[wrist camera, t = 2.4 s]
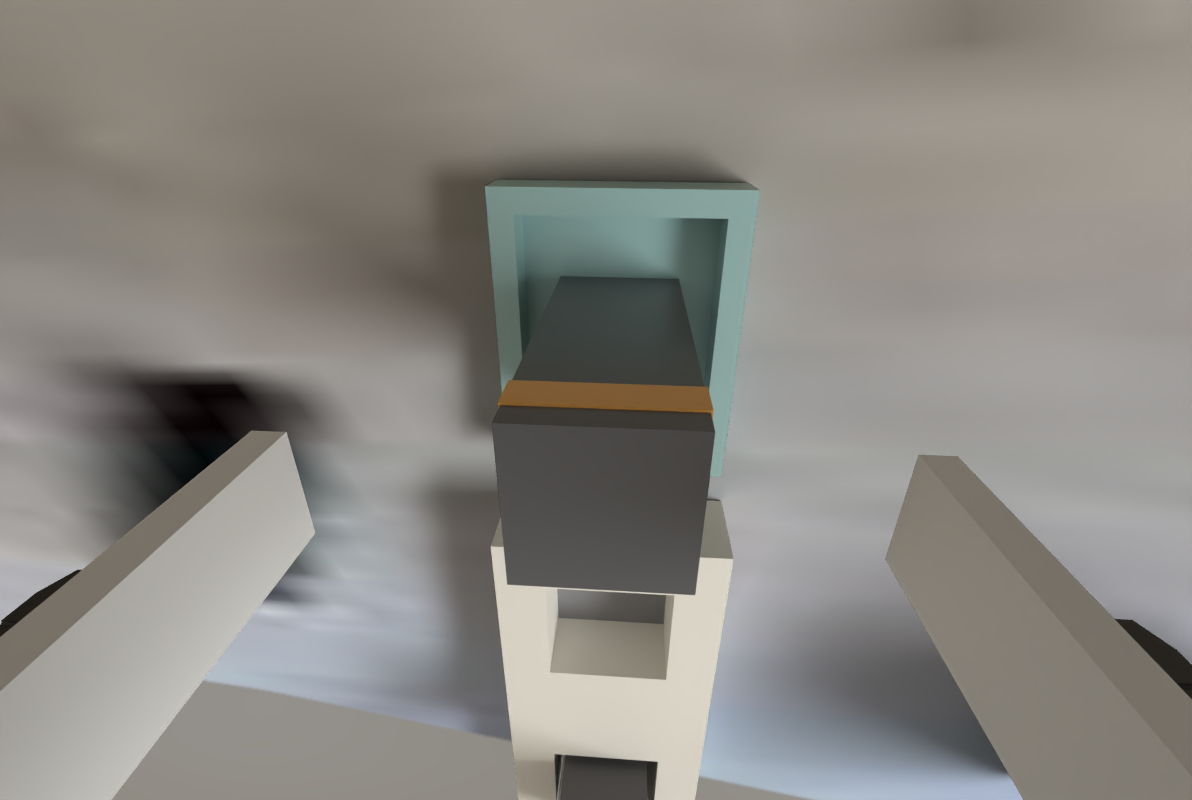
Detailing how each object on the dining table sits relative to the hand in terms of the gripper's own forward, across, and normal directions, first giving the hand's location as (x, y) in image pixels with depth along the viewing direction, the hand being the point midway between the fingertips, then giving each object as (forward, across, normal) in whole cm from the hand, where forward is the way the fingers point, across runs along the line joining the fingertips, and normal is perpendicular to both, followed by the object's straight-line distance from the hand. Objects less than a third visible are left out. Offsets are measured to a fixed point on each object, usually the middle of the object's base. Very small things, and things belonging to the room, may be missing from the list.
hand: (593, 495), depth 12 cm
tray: (+9, 0, 0) cm, 9 cm away
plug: (+9, 0, 0) cm, 9 cm away
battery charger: (+10, 0, -17) cm, 20 cm away
